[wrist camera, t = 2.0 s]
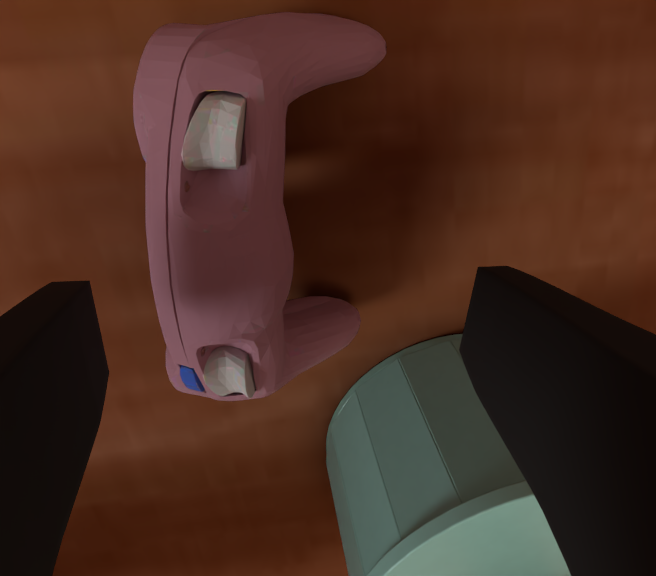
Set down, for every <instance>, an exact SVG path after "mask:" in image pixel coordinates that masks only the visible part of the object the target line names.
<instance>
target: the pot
mask: <svg viewBox="0 0 656 576" xmlns="http://www.w3.org/2000/svg"><path fill="white" fill-rule="evenodd" d="M462 335H463V334H454V335H449V336H444V337H438V338H435V339H431V340H428V341H424V342H421V343H418V344H416V345H413V346H411V347H408V348H406V349H404V350H402V351H400V352H398V353H396V354H394V355H392V356H390V357H388V358H387V359H385V360H384V361H382V362H381V363H379V364H378V365H376V366H375V367H373V368H372V369H371V370H370V371H368V372H367V373H366V374H365V375H364V376H362V377H361V378H360V379H359V380H358V381H357V382H356V383H355V384H354V385H353V386H352V387H351V388H350V390H349V391H348V392H347V394H346V395H345V396H344V397H343V399H342V400H341V402H340V403H339V405H338V407H337V409H336V410H335V412H334V414H333V417H332V419H331V422H330V424H329V428H328V433H327V437H326V452H327V457H326V465H327V470H328V475H329V480H330V485H331V490H332V495H333V500H334V505H335V510H336V515H337V520H338V525H339V530H340V535H341V540H342V545H343V550H344V555H345V560H346V564H347V569H348V574H349V576H367V575H368V574H369V572H370V571H371V570H372V568H373V567H374V566H375V565H376V564H377V563H378V562H379V561H380V560H381V559H382V558H383V557H384V555H385V554H386V553H387V552H388V551H390V550H391V549H392V548H393V547H394V546H395V545H397V544H398V543H399V542H400V541H401V540H403V539H404V538H405V537H406V536H408V535H409V534H411V533H412V532H414V531H415V530H416V529H418V528H419V527H421V526H422V525H424V524H425V523H427V522H428V521H430V520H432V519H434V518H435V517H437V516H439V515H440V514H442V513H444V512H446V511H447V510H449V509H451V508H453V507H456V506H458V505H460V504H462V503H464V502H466V501H468V500H470V499H472V498H475V497H477V496H480V495H482V494H485V493H488V492H490V491H493V490H495V489H498V488H501V487H504V486H508V485H511V484H514V483H518V482H521V481H525V478H524V476H523V474H522V473H521V471H520V469H519V468H518V466H517V464H516V462H515V461H514V459H513V457H512V455H511V454H510V452H509V450H508V449H507V447H506V445H505V443H504V442H503V440H502V438H501V436H500V435H499V433H498V431H497V430H496V428H495V426H494V424H493V423H492V421H491V419H490V417H489V416H488V414H487V412H486V410H485V409H484V407H483V405H482V403H481V401H480V400H479V398H478V396H477V394H476V392H475V390H474V387H473V385H472V383H471V380H470V378H469V375H468V373H467V370H466V368H465V365H464V362H463V359H462V357H461V354H460V351H459V348H460V344H461V339H462Z"/></svg>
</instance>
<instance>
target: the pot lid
mask: <svg viewBox="0 0 656 576" xmlns="http://www.w3.org/2000/svg"><path fill="white" fill-rule="evenodd" d="M367 576H571V574H570V572H569V569H568V567H567V565H566V562H565V560H564V558H563V556H562V553H561V551H560V549H559V547H558V544H557V542H556V540H555V538H554V535H553V533H552V531H551V529H550V527H549V524H548V522H547V520H546V518H545V515H544V513H543V511H542V509H541V507H540V505H539V503H538V502H537V500H536V498H535V496H534V494H533V492H532V490H531V488H530V486H529V485H528V483H527V481H526V480H525V481H521V482H518V483H514V484H511V485H508V486H504V487H501V488H498V489H495V490H493V491H490V492H488V493H485V494H482V495H480V496H477V497H475V498H472V499H470V500H468V501H466V502H464V503H462V504H460V505H458V506H456V507H453V508H451V509H449V510H447V511H446V512H444V513H442V514H440V515H439V516H437V517H435V518H434V519H432V520H430V521H428V522H427V523H425V524H424V525H422V526H421V527H419V528H418V529H416V530H415V531H414V532H412V533H411V534H409V535H408V536H406V537H405V538H404V539H403V540H401V541H400V542H399V543H398V544H397V545H395V546H394V547H393V548H392V549H391V550H390V551H388V552H387V553H386V554H385V555H384V557H383V558H382V559H381V560H380V561H379V562H378V563H377V564H376V565H375V566H374V567H373V568H372V570H371V571H370V572H369V574H368V575H367Z"/></svg>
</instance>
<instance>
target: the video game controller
mask: <svg viewBox="0 0 656 576" xmlns="http://www.w3.org/2000/svg"><path fill="white" fill-rule="evenodd" d="M385 55H386V42H385V40H384V39H383V37H382V36H381V35H380V33H379V32H377V31H376V30H374V29H372V28H371V27H369V26H368V25H365V24H362V23H360V22H357V21H354V20H349V19H345V18H340V17H337V16H332V15H326V14H316V13H293V12H280V13H272V14H265V15H258V16H253V17H248V18H242V19H237V20H231V21H226V22H220V23H215V24H210V25H195V24H182V23H171V24H166V25H164V26H162V27H159V28H158V29H157V31H156V32H155V33H154V34H153V35H152V36H151V37H150V39H149V41H148V42H147V44H146V46H145V49H144V52H143V54H142V57H141V59H140V63H139V68H138V72H137V76H136V81H135V85H134V93H133V119H134V126H135V130H136V135H137V139H138V142H139V146H140V149H141V153H142V156H143V158H144V160H145V162H146V235H147V245H148V256H149V266H150V276H151V283H152V288H153V293H154V298H155V303H156V308H157V313H158V318H159V321H160V325H161V329H162V332H163V336H164V340H165V343H166V345H167V348H166V369H167V373H168V376H169V380H170V381H171V383H172V385H173V386H174V387H175V389H177V390H179V391H181V392H184V393H189V394H194V395H199V396H204V397H209V398H213V399H215V400H220V401H238V400H247V399H255V398H263V397H266V396H269V395H271V394H272V393H274V392H276V391H277V390H279V389H280V388H281V387H283V386H284V385H285V384H287V383H288V382H289V381H291V380H292V379H293V378H295V377H296V376H297V375H299V374H300V373H302V372H303V371H305V370H307V369H309V368H311V367H313V366H314V365H316V364H318V363H320V362H322V361H324V360H325V359H327V358H329V357H331V356H332V355H334V354H335V353H337V352H338V351H340V350H341V349H343V348H344V347H346V346H347V345H348V344H349V343H350V342H351V341H352V340H353V338H354V337H355V335H356V334H357V332H358V330H359V327H360V322H361V320H360V315H359V312H358V310H357V309H356V308H355V307H353V306H352V305H351V304H350V303H348V302H346V301H344V300H341V299H337V298H332V297H328V296H308V297H303V298H298V299H292V300H288V301H286V300H287V297H288V294H289V291H290V287H291V282H292V277H293V261H294V251H293V246H292V241H291V235H290V230H289V225H288V221H287V217H286V212H285V208H284V204H283V189H284V169H285V127H286V113H287V107H288V105H289V104H290V103H291V102H292V101H294V100H295V99H296V98H298V97H299V96H301V95H304V94H306V93H308V92H310V91H312V90H315V89H317V88H319V87H322V86H326V85H330V84H333V83H337V82H341V81H344V80H348V79H352V78H356V77H359V76H363V75H364V74H365V73H367V72H368V71H370V70H371V69H372V68H374V67H375V66H377V65H378V64H379V63H380V62H381V61H382V60H383V58H384V57H385Z"/></svg>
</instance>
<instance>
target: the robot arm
mask: <svg viewBox="0 0 656 576" xmlns="http://www.w3.org/2000/svg"><path fill="white" fill-rule="evenodd" d="M459 351H460V354H461V357H462V359H463V362H464V365H465V368H466V370H467V373H468V375H469V378H470V380H471V383H472V385H473V387H474V390H475V392H476V394H477V396H478V398H479V400H480V401H481V403H482V405H483V407H484V409H485V410H486V412H487V414H488V416H489V417H490V419H491V421H492V423H493V424H494V426H495V428H496V430H497V431H498V433H499V435H500V436H501V438H502V440H503V442H504V443H505V445H506V447H507V449H508V450H509V452H510V454H511V455H512V457H513V459H514V461H515V462H516V464H517V466H518V468H519V469H520V471H521V473H522V474H523V476H524V478H525V480H526V481H527V483H528V485H529V486H530V488H531V490H532V492H533V494H534V496H535V498H536V500H537V502H538V503H539V505H540V507H541V509H542V511H543V513H544V515H545V518H546V520H547V522H548V524H549V527H550V529H551V531H552V533H553V535H554V538H555V540H556V542H557V544H558V547H559V549H560V551H561V553H562V556H563V558H564V560H565V562H566V565H567V567H568V569H569V572H570V574H571V576H656V335H655V334H653V333H651V332H649V331H646V330H644V329H642V328H640V327H637V326H635V325H633V324H631V323H629V322H626V321H624V320H622V319H620V318H618V317H616V316H614V315H612V314H610V313H607V312H605V311H603V310H601V309H599V308H597V307H595V306H593V305H591V304H589V303H587V302H585V301H583V300H581V299H579V298H577V297H575V296H573V295H571V294H569V293H567V292H565V291H563V290H561V289H559V288H557V287H555V286H553V285H551V284H548V283H546V282H544V281H542V280H540V279H538V278H536V277H534V276H531V275H529V274H527V273H525V272H522V271H520V270H517V269H514V268H511V267H509V266H492V267H478V269H477V274H476V278H475V283H474V287H473V291H472V296H471V300H470V304H469V309H468V313H467V318H466V322H465V326H464V331H463V335H462V339H461V344H460V348H459ZM108 376H109V370H108V365H107V360H106V356H105V351H104V346H103V342H102V337H101V332H100V328H99V323H98V318H97V314H96V309H95V304H94V300H93V295H92V290H91V286H90V281H66V282H51V283H49V284H48V285H46V286H44V287H42V288H41V289H39V290H38V291H36V292H35V293H33V294H32V295H30V296H29V297H27V298H26V299H24V300H23V301H22V302H20V303H19V304H17V305H16V306H14V307H13V308H12V309H10V310H9V311H7V312H6V313H5V314H3V315H2V316H0V576H52V574H53V570H54V566H55V563H56V559H57V556H58V552H59V549H60V545H61V541H62V538H63V535H64V532H65V529H66V526H67V523H68V520H69V517H70V514H71V511H72V508H73V505H74V502H75V499H76V496H77V493H78V490H79V487H80V484H81V481H82V478H83V475H84V472H85V468H86V465H87V462H88V459H89V456H90V453H91V450H92V447H93V444H94V441H95V437H96V434H97V431H98V428H99V425H100V421H101V416H102V411H103V405H104V400H105V394H106V388H107V382H108Z"/></svg>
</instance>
